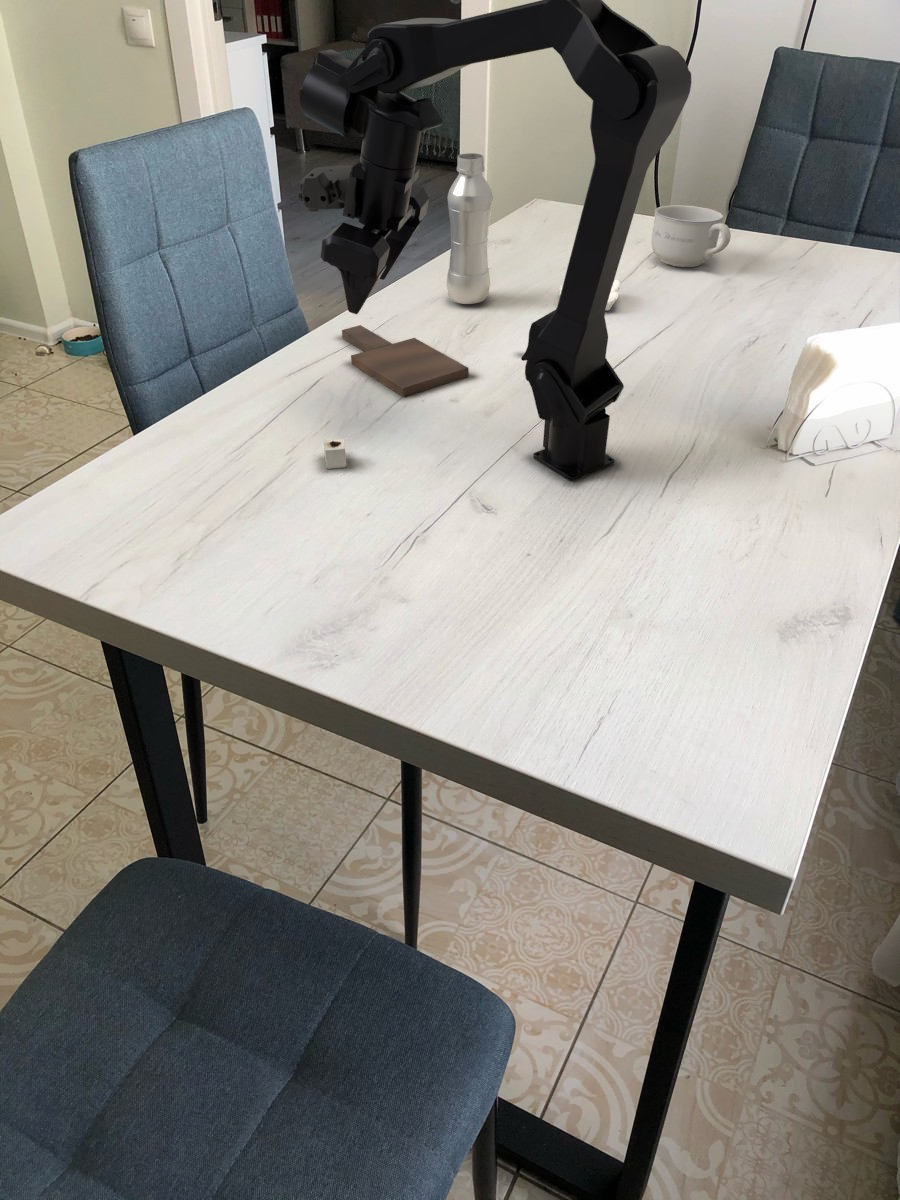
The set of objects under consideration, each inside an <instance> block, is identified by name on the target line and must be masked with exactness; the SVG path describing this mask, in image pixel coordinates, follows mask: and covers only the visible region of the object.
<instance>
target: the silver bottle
mask: <svg viewBox="0 0 900 1200" xmlns="http://www.w3.org/2000/svg"><path fill="white" fill-rule="evenodd" d="M456 171H457V172H458V175H457V177H456V178H455V179H454V181H453V183H452V184H451V186H450V188H449V190H448V193H447V205H448V206H447V209H448V216H449V226H450V255H449V265H448V266H449V267H448V270H447V275H446V286H445V287H446V291H447V295H448V297H449V298H450V300H451V301H453V302H455V303H457V304H463V305H471V304H472V305H473V304H478V303H481V302H483V301H485V300H486V299H487V297H488V295H489V293H490V288H491V276H490V275H491V274H490V269H489V256H488V240H489V238H488V236H489V228H490V227H489V226H490V221H491V214H492V208H493V201H494V196H493V191H492V188H491V187H490V185H489V183H488V181H487V180H486V178H485V177H484V175H483V172H485V157H484V155H483V154H481V153H477V152H476V153H475V152H466V153H460V154H458V155H457V166H456Z"/></svg>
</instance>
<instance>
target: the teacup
mask: <svg viewBox="0 0 900 1200" xmlns="http://www.w3.org/2000/svg"><path fill="white" fill-rule="evenodd" d="M723 220H724V215H723V213H721V212H719V211H717V210H715V209H711V208H707V207H703V206H702V207H701V206H696V205H687V204H686V205H685V204H684V205H683V204H681V205H680V204H675V205H674V204H671V205H662V206H659V207H656V208H655V209H654V219H653V225H652V232H651V249H652V251H653V252H654V255H656V256H657V258H658V260H659V261H660V262H662V263H663V264H666V265H669V266H673V267H681V268H682V267H683V268H693V267H694V268H695V267H698V266H700V265H702V264H703V263H704V262H705V261H708V260H710V259H711V258H712V257H713V255H716V254H718V253H721V252H722V251H724V250H725V249H726V248H727V247H728V246H729V245H730V242H731V237H732V234H731V230H730V228H729V226H728V225H727V224H726V223H722V222H723ZM720 233H721V241H720V243H719V244H718V240H719V237H720Z"/></svg>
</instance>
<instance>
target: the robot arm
mask: <svg viewBox="0 0 900 1200" xmlns="http://www.w3.org/2000/svg"><path fill="white" fill-rule="evenodd" d="M551 48H552V49H553V50H554V51H555V52H556V53H557V54H559V56H560V57H561V59H562V61H563V62H564V64H565V66H566V69H567V70H568V72H569V74H570V76H571V78H572V79H573V82H574V83H575V84H576V85H577V86H578V87H579V88H580V89H581V90H582V91H583V93H584V94H585V95H586V96H588V97H589V98H590V99H591V101H592V105H591V113H590V125H589V129H590V135H591V141H592V148H593V153H594V164H593V167H592V172H591V176H590V179H589V184H588V188H587V191H586V195H585V199H584V203H583V206H582V207H583V208H582V209H581V210H582V211H581V214H580V218H579V222H578V226H577V229H576V233H575V236H574V237H575V238H574V241H573V244H572V249H571V253H570V257H569V260H568V263H567V268H566V272H565V275H564V280H563V287H562V291H561V295H559V298H558V302H557V306H556V308H555V309H554V310H552V311H550V312H549V313H547V314H544V316H542V317H540V318H538V319H536V320H535V321H533V322H532V323H531V325H530V328H529V330H528V341H527V347H526V348H525V349H526V350H525V352H524V353H523V355H522V356H521V358H520V359H521V361H525V366H524V377H525V380H526V382H528V383H529V386H530V388H531V391H532V395H533V399H534V404H535V407H536V411H537V415H538V418H539V420H543V421H544V425H543V426H544V427H543V438H542V439H543V441H542V447H543V449H540V450H537V451H535V452H533V455H532V457H533V459H534V460H536V461H537V462H538V463H540V464H542V465H543V466H545V467H546V468H548V469H550V470H551V471H553V472H555V473H557V474H558V475H560V476H562V477H563V478H565V479H566V480H568V481H571V482H573V481H577V480H579V479H582V478H584V477H587V476H589V475H592V474H594V473H598V472H599V471H601V470H604V469H607V468H609V467H611V466H614V465H615V462H616V459H615V458H613V457H612V456H610V455H608V454H607V453H606V452H607V444H608V438H609V437H608V436H609V428H610V420H611V419H610V418H611V415H610V414H608V413H607V410H606V408H607V407H608V406H610V405H611V404H613V403H615V402H617V401H618V399H619V397H620V396H621V394H622V392H623V390H624V388H625V385H624V383H623V381H622V380H621V379H620V376H618V374H617V373H616V371H615V370H614V368H613V366H612V365H611V363H610V362H609V360H608V359H607V350H608V341H609V332H608V327H607V321H606V318H605V317H606V316H605V314H606V310H605V309H606V305H607V302H608V299H609V295H610V292H611V289H612V285H613V282H614V280H616V279H615V278H616V275H617V272H618V268H619V265H620V261H621V259H622V255H623V252H624V248H625V245H626V242H627V239H628V235H629V231H630V228H631V225H632V221H633V218H634V215H635V212H636V208H637V205H638V201H639V198H640V195H641V192H642V188H643V185H644V181H645V178H646V175H647V172H648V169H649V167H650V165H651V164H652V162H653V160H654V159H655V158H656V157H657V154H658V153H659V152H660V150H661V149H662V147H663V145H664V144H665V142H666V141H667V140H668V138H669V137H670V135H671V134H672V132H673V130H674V128H675V126H676V124H677V122H678V120H679V118H680V115H681V113H682V111H683V109H684V107H685V105H686V103H687V101H688V99H689V96H690V93H691V90H692V89H691V88H692V72H691V70H690V69H689V66H688V64H687V61H686V59H685V58H684V57H683V55H682V54H681V53H680V52H679V51H678V49H675V48H673V47H672V46H670V45H665V44H659V43H658V42H657V41H656V40H655V39H654V38H653V37H652V36H651V35H650V34H648V32H646V31H645V30H644V29H642V28H641V27H639V26H637V25H636V24H635V23H633V22H632V21H630V20H628V19H627V18H626V17H624V16H622V15H621V14H619V13H617V12H616V11H614V10H613V9H612V8H611V7H610V6H609V5H608V4H607V3H605V1H604V0H537V1H533V2H528V3H524V4H520V5H516V6H512V7H508V8H503V9H499V10H495V11H492V12H486V13H482V14H478V15H475V16H471V17H466V18H462V19H453V18H447V17H446V18H445V17H417V18H411V19H404V20H398V21H391V22H386V23H385V22H384V23H380V24H377V25H375V26H373V27H372V28H371V29H370V30H369V31H368V33H367V38H366V41H365V45H364V49H363V50H362V51H361V52H360V53H359V55H357V56H356V58H355V59H354V60H353V61H351V60H349V59H347V58H345V56H343V55H342V54H341V53H339V52H337V51H336V50H334V49H326V50H319V51H318V52H317V55H316V63H315V64H314V65H313V66H312V67H311V68H310V70H309V71H308V73H307V74H306V76H305V78H304V80H303V83H302V85H301V86H300V88H299V93H298V95H299V96H298V97H299V106H300V109H301V112H302V113H303V114H304V116H305V117H307V118H308V119H311V121H312V120H313V121H314V122H316V123H317V124H320V125H322V126H323V127H325V128H327V129H329V130H331V131H332V132H335V133H337V134H338V135H341V136H342V137H344V138H346V139H348V140H357V139H359V138H360V137H362V143H361V150H360V157H359V161H357V162H356V163H355V164H353V165H350V164H348V165H347V164H346V165H328V166H326V165H325V166H319V167H315V168H313V169H312V170H310V172H308V173H307V174H306V175H305V176H304V177H303V178H301V182H300V183H299V189H300V192H299V193H298V199H299V200H300V201H301V202H303V205H304V207H306V208H307V211H308V212H312V213H317V212H318V211H320V210H321V211H322V210H340V209H343V211H342V216H343V217H346V218H348V219H352V220H354V219H358V220H357V222H358V223H360V224H361V225H363V227H359V226H356V225H353V224H350V223H347V222H342V223H340V224H338V225H336V226H335V227H334V228H333V229H332V230H330V232H329V233H328V234H327V235H326V236H324V238H323V239H322V242H321V250H320V259H321V260H322V261H323V262H325V263H328V264H329V265H330V266H333V267H335V268H336V269H337V270H338V271H339V273H340V276H341V280H342V284H343V290H344V295H345V300H346V307H347V311H348V312H349V313H351V314H354V315H358V314H359V313H360V312H361V309H362V308H363V306H364V305H365V303H366V302H367V300H368V299H369V296H370V295H371V293H372V291H373V290H374V288H375V286H376V285H377V284H378V281H379V280H381V281H382V280H385V279H386V278H387V277H388V275H389V273H390V272H391V270H392V269H393V267H394V265H396V262H397V260H398V259H399V257H400V256H401V254H402V253H403V252H404V250H405V249H406V247H407V245H408V244H409V242H410V240H411V239H412V238H413V237H414V234H415V233H416V231H417V230H418V228H419V227H420V226H421V224H422V221H423V219H424V217H425V216H426V215H427V213H428V207H429V202H430V197H429V194H428V193H427V192H426V189H425V188H424V187H423V186H420V185H417V184H414V183H415V182H416V181H417V180H418V179H419V174H420V167H418V166H416V165H417V161H418V155H419V149H420V143H421V138H422V132H424V131H427V130H431V129H435V128H438V127H441V126H443V124H444V119H443V117H442V116H441V113H440V112H439V111H438V110H437V108H436V106H435V105H434V103H433V99H432V98H431V97H430V96H426V97H423V98H419V99H415V98H413V97H411V96H409V95H407V94H405V93H403V92H406V91H409V90H413V89H417V88H421V87H425V86H426V87H427V86H429V85H433V84H435V83H437V82H439V81H441V80H444V79H446V78H447V77H451V76H452V75H454V74H456V73H457V72H458V71H460V70H462V69H463V68H466V67H468V66H470V65H473V64H477V63H482V62H483V63H484V62H488V61H493V60H498V59H501V58H507V57H512V56H516V55H523V54H527V53H533V52H536V51H541V50H546V49H551ZM362 135H363V136H362ZM413 210H414V215H412V213H413Z"/></svg>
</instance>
